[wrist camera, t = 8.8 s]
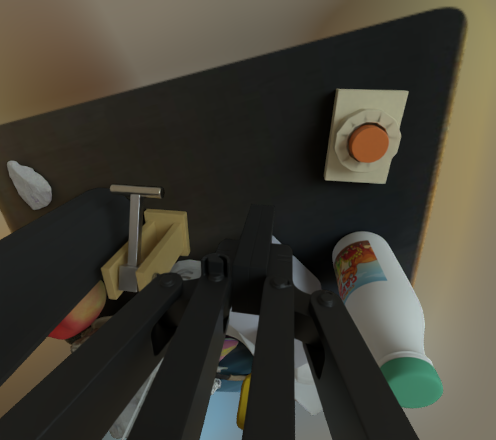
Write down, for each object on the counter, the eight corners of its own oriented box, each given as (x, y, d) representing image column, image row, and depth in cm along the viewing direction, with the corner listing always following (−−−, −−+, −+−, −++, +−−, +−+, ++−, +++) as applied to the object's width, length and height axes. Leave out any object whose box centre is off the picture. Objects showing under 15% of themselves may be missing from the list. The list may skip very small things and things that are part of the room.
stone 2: (180, 370, 43) (136, 445, 36) (179, 411, 63) (150, 464, 56) (103, 324, 46) (48, 384, 39) (125, 377, 66) (90, 423, 59)
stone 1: (37, 210, 44) (27, 215, 42) (2, 167, 41) (-10, 171, 40) (64, 196, 43) (55, 201, 41) (30, 151, 40) (19, 154, 38)
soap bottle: (322, 280, 43) (350, 471, 22) (288, 301, 46) (286, 488, 25) (266, 227, 40) (239, 389, 19) (234, 252, 43) (181, 418, 22)
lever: (119, 184, 34) (106, 182, 32) (166, 187, 33) (158, 186, 31) (115, 282, 35) (102, 288, 32) (161, 287, 34) (152, 294, 32)
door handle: (231, 302, 46) (217, 305, 50) (215, 329, 43) (201, 331, 47) (337, 393, 51) (317, 390, 55) (330, 423, 48) (309, 418, 52)
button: (351, 124, 30) (355, 126, 28) (387, 125, 29) (393, 128, 28) (345, 157, 31) (348, 162, 30) (379, 159, 31) (384, 164, 29)
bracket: (147, 208, 42) (93, 258, 30) (186, 211, 41) (146, 263, 30) (153, 248, 45) (107, 307, 33) (190, 252, 44) (155, 312, 33)
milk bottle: (386, 224, 38) (470, 357, 20) (391, 271, 41) (466, 421, 23) (327, 234, 39) (355, 364, 22) (335, 278, 43) (366, 422, 25)
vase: (122, 180, 40) (-210, 385, 13) (153, 240, 44) (-57, 489, 18) (66, 196, 43) (-307, 395, 16) (99, 252, 47) (-154, 484, 20)
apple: (114, 308, 52) (77, 356, 43) (64, 290, 52) (17, 334, 43) (121, 270, 48) (82, 315, 39) (67, 249, 47) (15, 290, 38)
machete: (186, 363, 48) (186, 359, 48) (176, 373, 49) (176, 368, 49) (253, 377, 55) (252, 373, 56) (243, 385, 56) (242, 381, 57)
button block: (336, 88, 31) (341, 90, 28) (402, 90, 30) (415, 92, 27) (323, 175, 36) (326, 185, 33) (381, 179, 35) (390, 189, 32)
